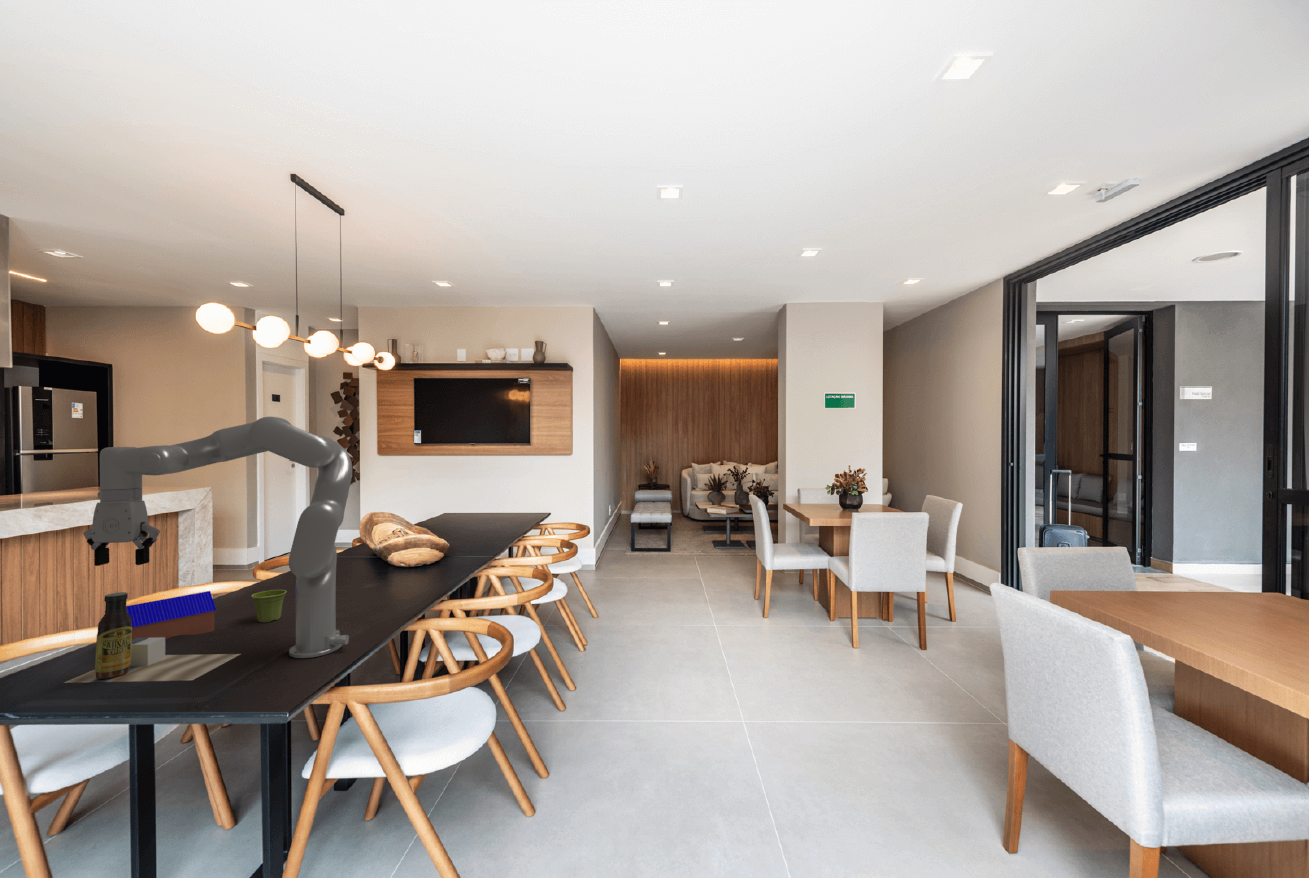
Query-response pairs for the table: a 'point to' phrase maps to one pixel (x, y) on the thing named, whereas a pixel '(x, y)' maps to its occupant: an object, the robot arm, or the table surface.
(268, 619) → the plant pot
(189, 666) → the board
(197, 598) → the house
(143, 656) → the light grey block
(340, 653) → the table surface
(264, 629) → the table surface
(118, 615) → the sauce bottle
